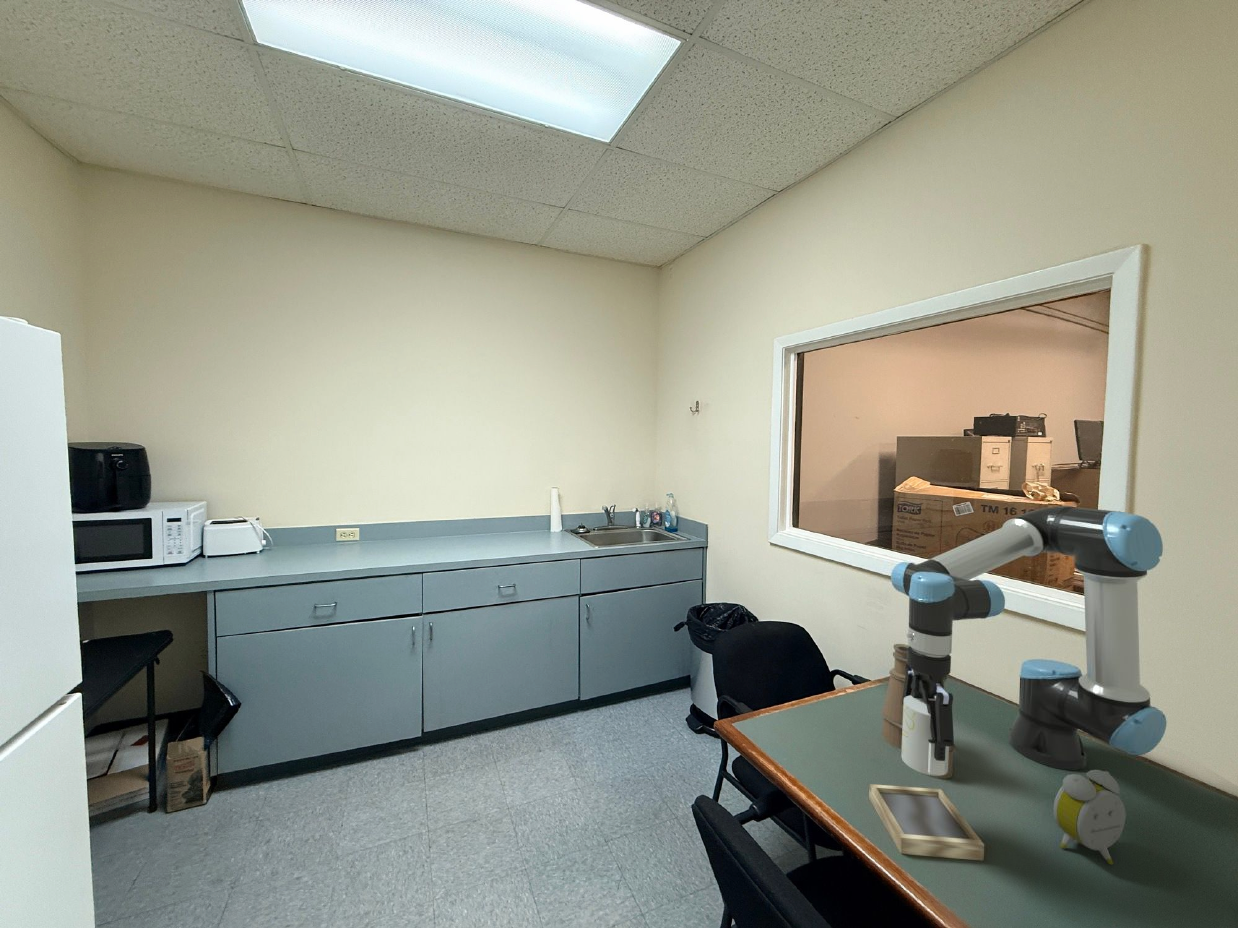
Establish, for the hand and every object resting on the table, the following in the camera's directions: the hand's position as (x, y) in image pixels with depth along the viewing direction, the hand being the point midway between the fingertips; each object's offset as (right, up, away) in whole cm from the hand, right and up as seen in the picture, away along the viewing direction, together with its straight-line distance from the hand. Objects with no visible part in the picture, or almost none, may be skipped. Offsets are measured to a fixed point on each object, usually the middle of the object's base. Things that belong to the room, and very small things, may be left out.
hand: (924, 758), depth 102 cm
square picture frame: (0, -14, +1) cm, 14 cm away
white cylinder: (0, -1, 0) cm, 1 cm away
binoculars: (+13, -14, +26) cm, 32 cm away
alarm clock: (+29, -15, -5) cm, 34 cm away
